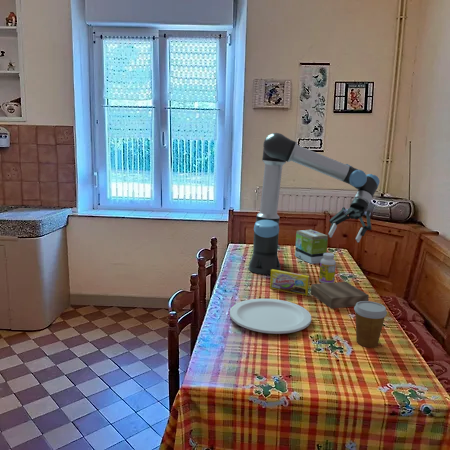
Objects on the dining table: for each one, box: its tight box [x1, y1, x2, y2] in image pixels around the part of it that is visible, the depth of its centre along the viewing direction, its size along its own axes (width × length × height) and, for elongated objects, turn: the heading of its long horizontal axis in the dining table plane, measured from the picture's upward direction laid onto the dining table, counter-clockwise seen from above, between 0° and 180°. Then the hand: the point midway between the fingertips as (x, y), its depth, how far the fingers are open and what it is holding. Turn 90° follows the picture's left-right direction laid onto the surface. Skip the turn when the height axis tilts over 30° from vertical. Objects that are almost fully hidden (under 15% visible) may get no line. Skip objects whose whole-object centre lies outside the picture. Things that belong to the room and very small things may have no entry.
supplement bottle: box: [318, 252, 337, 284], centre depth 184 cm, size 7×7×13 cm
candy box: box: [269, 269, 310, 297], centre depth 171 cm, size 16×2×8 cm, turn 62°
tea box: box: [294, 229, 329, 265], centre depth 219 cm, size 15×10×15 cm, turn 25°
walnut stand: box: [310, 281, 370, 309], centre depth 164 cm, size 16×16×4 cm
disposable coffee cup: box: [353, 300, 388, 348], centre depth 127 cm, size 10×10×12 cm
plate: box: [229, 298, 312, 335], centre depth 144 cm, size 28×28×2 cm
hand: (343, 238), depth 189 cm, fingers open, 13 cm apart
